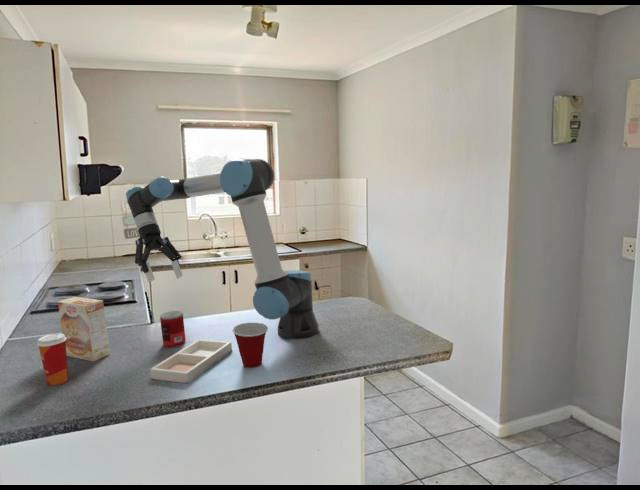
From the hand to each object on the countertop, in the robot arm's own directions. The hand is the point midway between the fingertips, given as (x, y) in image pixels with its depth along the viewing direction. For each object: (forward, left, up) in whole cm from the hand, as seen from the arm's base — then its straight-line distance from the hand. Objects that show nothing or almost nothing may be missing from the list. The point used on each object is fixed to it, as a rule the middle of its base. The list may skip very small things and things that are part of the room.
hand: (166, 279), depth 172 cm
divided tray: (-23, +20, -22) cm, 38 cm away
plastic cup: (-42, +16, -22) cm, 50 cm away
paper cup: (+11, +41, -22) cm, 48 cm away
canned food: (-5, +6, -22) cm, 24 cm away
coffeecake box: (+19, +22, -22) cm, 37 cm away
